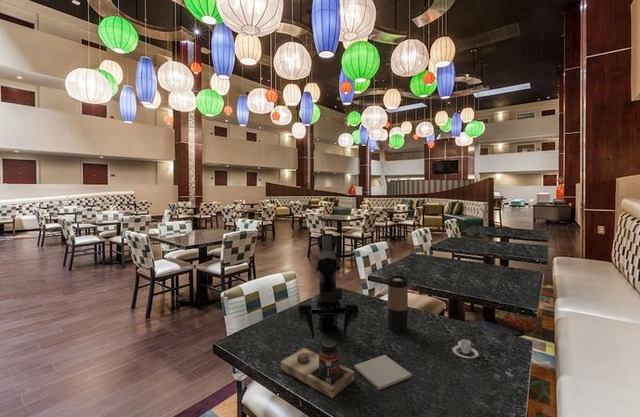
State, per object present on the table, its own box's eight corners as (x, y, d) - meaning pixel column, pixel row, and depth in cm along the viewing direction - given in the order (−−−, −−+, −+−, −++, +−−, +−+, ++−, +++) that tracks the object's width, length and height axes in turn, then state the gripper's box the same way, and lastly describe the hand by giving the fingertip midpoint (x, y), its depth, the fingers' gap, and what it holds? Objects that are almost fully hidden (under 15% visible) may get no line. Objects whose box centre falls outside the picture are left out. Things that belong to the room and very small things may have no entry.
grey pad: (354, 367, 95) (354, 365, 95) (384, 357, 101) (384, 354, 101) (379, 390, 85) (379, 387, 85) (411, 376, 90) (411, 374, 90)
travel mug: (408, 333, 116) (408, 282, 115) (387, 332, 118) (387, 281, 116) (406, 324, 124) (407, 276, 122) (387, 323, 125) (387, 275, 124)
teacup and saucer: (458, 343, 109) (458, 332, 109) (482, 352, 104) (483, 340, 103) (448, 353, 103) (448, 341, 103) (473, 362, 97) (473, 350, 97)
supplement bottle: (333, 390, 85) (332, 350, 84) (315, 383, 88) (314, 345, 87) (343, 378, 90) (342, 341, 89) (325, 372, 93) (325, 336, 92)
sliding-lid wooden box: (354, 379, 89) (354, 367, 89) (332, 398, 82) (331, 385, 81) (304, 355, 103) (303, 344, 103) (280, 369, 95) (280, 357, 95)
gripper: (298, 279, 96) (295, 329, 86) (357, 278, 96) (362, 329, 86) (300, 295, 105) (298, 342, 94) (355, 294, 104) (359, 342, 94)
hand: (328, 339), depth 92 cm, fingers open, 9 cm apart
